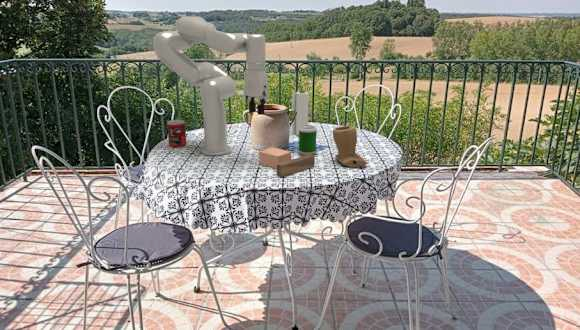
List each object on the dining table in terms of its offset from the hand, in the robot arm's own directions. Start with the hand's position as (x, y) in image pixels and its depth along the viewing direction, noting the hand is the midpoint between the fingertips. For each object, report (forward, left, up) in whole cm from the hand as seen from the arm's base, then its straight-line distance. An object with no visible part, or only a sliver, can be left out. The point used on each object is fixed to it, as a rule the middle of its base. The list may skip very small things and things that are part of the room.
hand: (256, 112), depth 179 cm
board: (+22, 0, -19) cm, 29 cm away
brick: (+11, 0, -20) cm, 22 cm away
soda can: (+10, +20, -20) cm, 30 cm away
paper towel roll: (-14, +42, -20) cm, 48 cm away
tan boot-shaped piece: (+30, +22, -20) cm, 42 cm away
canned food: (-41, -12, -20) cm, 47 cm away
